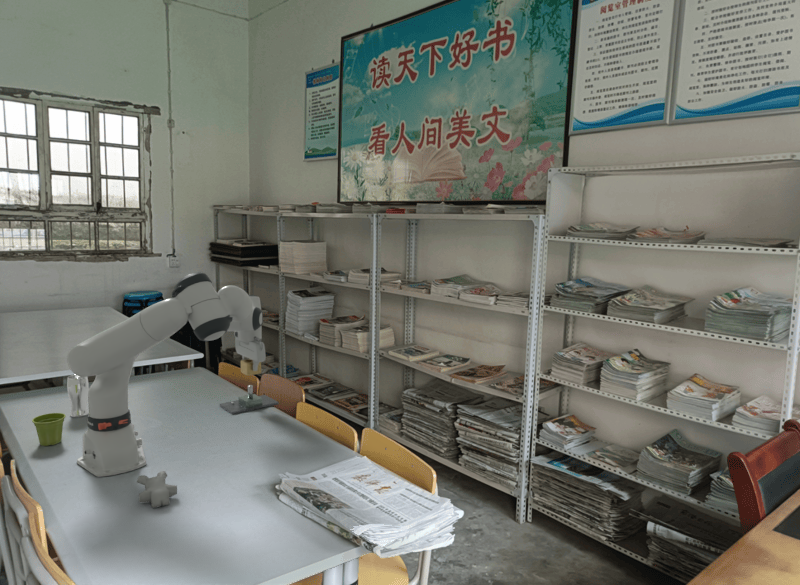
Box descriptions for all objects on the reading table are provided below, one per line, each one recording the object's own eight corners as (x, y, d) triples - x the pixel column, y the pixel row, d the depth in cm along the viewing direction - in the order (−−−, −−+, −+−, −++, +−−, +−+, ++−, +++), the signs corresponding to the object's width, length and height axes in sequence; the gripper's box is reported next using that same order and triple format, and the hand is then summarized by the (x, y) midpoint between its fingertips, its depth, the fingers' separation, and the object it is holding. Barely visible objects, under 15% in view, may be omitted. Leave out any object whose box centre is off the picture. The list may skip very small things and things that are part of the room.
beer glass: (83, 418, 208) (81, 379, 206) (64, 417, 208) (62, 378, 206) (93, 411, 215) (91, 374, 213) (75, 411, 215) (73, 373, 213)
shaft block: (278, 404, 229) (278, 384, 228) (232, 414, 216) (231, 393, 215) (265, 397, 238) (264, 377, 237) (219, 406, 225) (219, 385, 224)
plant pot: (51, 449, 180) (49, 423, 179) (26, 446, 182) (25, 421, 181) (73, 438, 189) (72, 414, 188) (49, 436, 191) (48, 411, 190)
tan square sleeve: (261, 373, 224) (261, 361, 223) (247, 375, 220) (247, 363, 219) (254, 370, 228) (254, 358, 228) (240, 372, 224) (240, 360, 224)
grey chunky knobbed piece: (141, 499, 142) (133, 470, 154) (142, 517, 143) (133, 487, 155) (180, 490, 147) (169, 463, 159) (180, 507, 148) (169, 479, 160)
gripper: (269, 338, 216) (269, 373, 218) (246, 329, 232) (247, 362, 233) (254, 340, 212) (254, 375, 214) (232, 331, 228) (232, 364, 229)
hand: (250, 368), depth 224 cm, fingers closed on tan square sleeve, 6 cm apart
